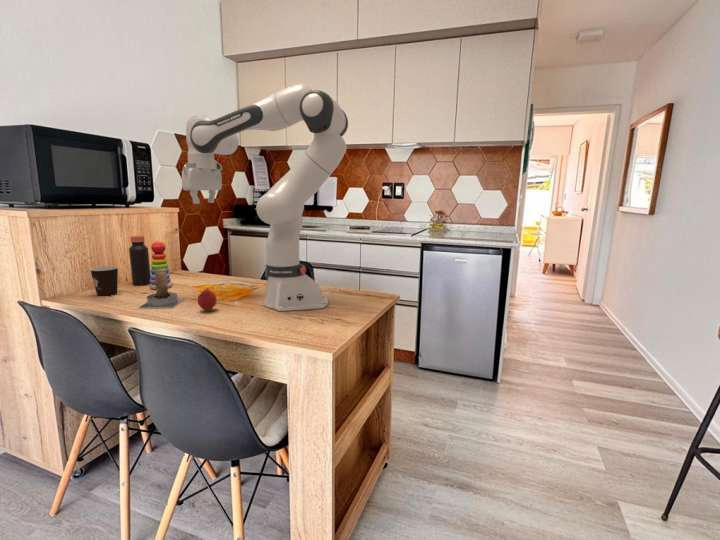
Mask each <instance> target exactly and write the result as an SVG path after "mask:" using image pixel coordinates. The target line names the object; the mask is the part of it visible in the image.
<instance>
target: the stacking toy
mask: <svg viewBox="0 0 720 540" xmlns="http://www.w3.org/2000/svg"><path fill="white" fill-rule="evenodd" d="M150 248H151V251H152V254H151V258H152V259H151V260H150V261H151V263H152V264H151V265H150V277H151V279H150V284H149V288H150V289H152V290H156V285H155V274H154V269H155V268H166V276H167V288H168V289H169V288H171V287H172V282H171V278H170V276H171V275H170V274H171V273H170V272H169V271H170V269H169V268H168V266H169V265H168V263H167V262H168V260H167V258H166V257H167V254H166V253H165V251H166V244H165V243H164V242H162V241H161V240H158V241H157V240H156V241H154V242H152V243H151V246H150Z"/></svg>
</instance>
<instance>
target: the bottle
mask: <svg viewBox="0 0 720 540" xmlns="http://www.w3.org/2000/svg"><path fill="white" fill-rule="evenodd" d="M129 238H130V244H131V246H130V247H129V248H128V253H129V254H128V255H129V263H130V272H131V279H132V285H133V286H135V287H136V286H137V287H140V286H142V287H143V286H147V285H150V284H151V283H150V279H151V277H150V275H151V265H150V258H149V257H150V255H149V248H148V247H147V246H146V245H145V236H144V235H131V236H130V237H129Z"/></svg>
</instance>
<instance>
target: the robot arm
mask: <svg viewBox="0 0 720 540" xmlns="http://www.w3.org/2000/svg"><path fill="white" fill-rule="evenodd" d="M348 119H349V118H348V117H347V114H346V112H345V111H344V110H343V109H342V108H341V106H340V105H339V103H338V102H337V100H335V99H334V98H332V97H331V96H330V95H329V94H328V93H327V92H325V91H323V90H318V89H312V88H310V86H308V85H307V84H306V83H305V84H304V83H298V84H294V85H290V86H289V87H284V88H283V89H280V90H278V91H276V92H274V93H273V94H270V95H268V96H267V97H265V98H263V99H260V100H259V101H256V102H254V103H252V104H250V105H248V106H245V107H242V108H239V109H236V110H234V111H232V112H230V113H228V114H225V115H222V116H220V117H218V118H216V119H215V118H214V119H211V118H210V117H208V116H206V115H195V116H191V117H189V118H188V120H187V121H186V125H185V126H186V127H185V136H186V137H185V138H186V139H185V140H186V145H187V148H188V152H187V162H185V164H184V166H183V168H182V171H181V187H182V190H183V191H189V195H190V196H191V198H192V203H193V204H194V205H195V204H197V205H199V204H200V203H201V202H200V201H201V200H200V198H199V197H198V193H199V192H198V191H208V194H209V195H208V197H207V203H210V204H211V203H212V204H213V203H215V197H216V192H217V191H221V190H222V188H223V179H222V177H223V176H222V172H221V171H222V170H223V166H222V164H220V163H219V162H218V161H217V160H215V155H220V156H221V155H222V156H228V155H229V156H230V155H232V154H234V153H235V152H237V150H238V147H239V137H238V134H240V133H243V132H245V131H250V130H258V131H269V132H277V131H281V130H284V129H288V128H290V127H292V126H293V125H296V124H298V123H299V122H303V121H304V123H305V125H306V127H307V129H308V131H309V133H312V134H313V139H312V141H311V143H310V144H309V146H308V147H307V148H306V149H305V151H303V153H302V154H301V156H300V157H299V158H297V161H296V162H295V163H294V164H292V165H293V166H291V168H290V169H289V170H288V171H287V172H286V173H285V174H284V175H283V176H282V177H281V178H280V179H279V180H278V181H277V182H276V183H274V185H273V186H271V187H270V188H269V190H267V191H266V193H264V194H263V195H262V196H260V198H259V199H258V201H257V202H256V210H255V211H256V214H257V216H258V218H259V219H260V220H261V221H262V222H264V223H265V224H267V225H270V226H269V231H268V236H267V239H266V241H265V242H266V245H265V247H266V249H265V250H266V264H265V279H266V288H265V289H266V290H265V295H264V296H265V297H264V301H263V306H264V307H266V308H269V309H274V310H276V311H278V312H288V311H302V310H304V311H305V310H316V309H317V310H318V309H324V308H326V307H327V306H328V304H329V300H328V297H327V296H326V295H323V293H322V289H321V286H320V283H318V282H317V281H316V280H314V279H313V278H311V277H310V276H309V275H308V274H306V272H307V268H306V266H305V264H302V263H300V236H301V230H302V220H303V212H304V209H305V205H304V204H305V203H306V202H307V201H309V199H310V198H312V197H313V196H314V195H315V194H316V193H317V192H319V190H320V189H321V187H323V185H324V184H325V182H326V181H327V180H328V179H329V178H330V176H331V175H332V174H333V173H334V171H335V170H336V169H337V167H338V166H339V165H340V163H341V162H342V159H344V155H345V154H346V153H347V150H348V149H347V144H346V141H345V139H344V138H343V136H345V134H346V132H347V131H348V128H349V120H348Z"/></svg>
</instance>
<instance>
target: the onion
mask: <svg viewBox="0 0 720 540" xmlns="http://www.w3.org/2000/svg"><path fill="white" fill-rule="evenodd" d="M217 301H218V299H217V296H216V294H215V293H214V292H213V291H212V290H210V288H209V287H207V286H206V287H204V289H203V291H201V292H200V293H199V295H198V297H197V304H198V306H199V307H200V308H201V309H202V310H204V311H206V312H210V311H211V310H212V309H213V308H214V307H215V306H216V305H217Z"/></svg>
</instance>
